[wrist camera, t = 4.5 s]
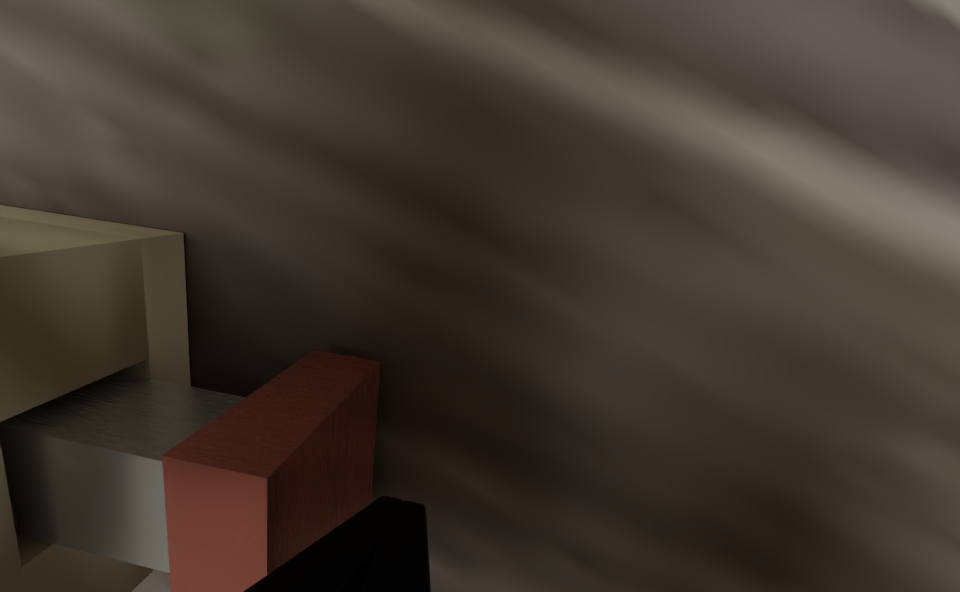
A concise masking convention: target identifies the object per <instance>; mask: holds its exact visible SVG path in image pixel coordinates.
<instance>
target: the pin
mask: <svg viewBox="0 0 960 592" xmlns="http://www.w3.org/2000/svg"><path fill="white" fill-rule="evenodd" d="M380 366H381V362H380V361H375V360H369V359H364V358H358V357H353V356H347V355H342V354H336V353H331V352H325V351H320V350H313V351H312V352H310V353H309V354H308V355H306V356H305V357H303V358H302V359H300V360H299V361H297V362H296V363H295V364H293V365H292V366H290V367H289V368H287V369H286V370H284V371H283V372H282V373H280V374H279V375H277V376H276V377H274V378H273V379H271V380H270V381H269V382H267V383H266V384H264V385H263V386H261V387H260V388H259V389H257V390H256V391H254V392H253V393H251V394H250V395H248V396H247V397H241V396H236V395H230V394H225V393H220V392H215V391H210V390H205V389H200V388H195V387H190V386H185V385H180V384H175V383H170V382H165V381H160V380H155V379H150V378H145V377H139V376H134V375H129V374H124V373H119V372H115V373H113V374H111V375H108V376H106V377H104V378H101V379H99V380H97V381H94V382H92V383H90V384H87V385H85V386H83V387H80V388H78V389H76V390H73V391H71V392H69V393H66V394H64V395H62V396H59V397H57V398H55V399H52V400H50V401H48V402H45V403H43V404H41V405H38V406H36V407H34V408H31V409H29V410H27V411H24V412H22V413H20V414H18V415H15V416H13V417H11V418H8V419H6V420H4V421H1V422H0V443H1V449H2V455H3V461H4V467H5V472H6V478H7V484H8V490H9V496H10V502H11V508H12V514H13V520H14V526H15V531H16V534H17V535H21V536H25V537H29V538H33V539H37V540H41V541H45V542H49V543H53V544H57V545H60V546H64V547H68V548H72V549H76V550H80V551H84V552H88V553H92V554H96V555H100V556H104V557H108V558H112V559H116V560H120V561H124V562H127V563H131V564H135V565H139V566H143V567H147V568H151V569H155V570H159V571H163V572H167V573H170V585H171V592H243V591H245V590H246V589H248V588H249V587H251V586H252V585H253V584H255V583H256V582H258V581H259V580H261V579H262V578H264V577H265V576H266V575H268V574H269V573H271V572H272V571H274V570H275V569H277V568H278V567H279V566H281V565H282V564H284V563H285V562H287V561H288V560H290V559H291V558H292V557H294V556H295V555H297V554H298V553H300V552H301V551H303V550H304V549H305V548H307V547H308V546H310V545H311V544H313V543H314V542H316V541H317V540H318V539H320V538H321V537H323V536H324V535H326V534H327V533H329V532H330V531H332V530H333V529H334V528H336V527H337V526H339V525H340V524H342V523H343V522H345V521H346V520H347V519H349V518H350V517H352V516H353V515H355V514H356V513H358V512H359V511H360V510H362V509H363V508H365V507H366V506H368V505H369V504H371V494H372V480H373V466H374V451H375V437H376V423H377V409H378V394H379V380H380Z"/></svg>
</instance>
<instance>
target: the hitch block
mask: <svg viewBox="0 0 960 592" xmlns="http://www.w3.org/2000/svg"><path fill="white" fill-rule="evenodd" d="M115 372H119V373H124V374H129V375H134V376H139V377H145V378H150V379H155V380H160V381H165V382H170V383H175V384H180V385H185V386H190V365H189V343H188V322H187V300H186V279H185V257H184V235H183V233H180V232H174V231H167V230H161V229H154V228H148V227H141V226H135V225H128V224H121V223H115V222H108V221H102V220H95V219H89V218H82V217H76V216H69V215H63V214H56V213H50V212H43V211H37V210H30V209H24V208H17V207H11V206H4V205H0V422H1V421H4V420H6V419H8V418H11V417H13V416H15V415H18V414H20V413H22V412H24V411H27V410H29V409H31V408H34V407H36V406H38V405H41V404H43V403H45V402H48V401H50V400H52V399H55V398H57V397H59V396H62V395H64V394H66V393H69V392H71V391H73V390H76V389H78V388H80V387H83V386H85V385H87V384H90V383H92V382H94V381H97V380H99V379H101V378H104V377H106V376H108V375H111V374H113V373H115ZM153 570H154V569H151V568H147V567H143V566H139V565H135V564H131V563H127V562H124V561H120V560H116V559H112V558H108V557H104V556H100V555H96V554H92V553H88V552H84V551H80V550H76V549H72V548H68V547H64V546H60V545H57V544H53V543H49V542H45V541H41V540H37V539H33V538H29V537H25V536H21V535H17V534H16V531H15V526H14V520H13V514H12V508H11V502H10V496H9V490H8V484H7V478H6V472H5V467H4V461H3V455H2V449H1V443H0V592H131V591H132V590H133V589H134V588H136V587H137V586H138V585H139V584H140V583H141V582H142V581H143V580H144V579H145V578H146V577H147V576H148V575H149V574H150V573H151V572H152V571H153Z"/></svg>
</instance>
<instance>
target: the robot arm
mask: <svg viewBox="0 0 960 592" xmlns="http://www.w3.org/2000/svg"><path fill="white" fill-rule="evenodd" d="M243 592H431V588H430V571H429V554H428V537H427V519H426V507H425V505H424V504H420V503H416V502H412V501H403V500H402V499H398V498H394V497H390V496H381V497H379V498H378V499H376V500H375V501H373V502H372V503H371V504H369V505H368V506H366V507H365V508H363V509H362V510H360V511H359V512H358V513H356V514H355V515H353V516H352V517H350V518H349V519H347V520H346V521H345V522H343V523H342V524H340V525H339V526H337V527H336V528H334V529H333V530H332V531H330V532H329V533H327V534H326V535H324V536H323V537H321V538H320V539H318V540H317V541H316V542H314V543H313V544H311V545H310V546H308V547H307V548H305V549H304V550H303V551H301V552H300V553H298V554H297V555H295V556H294V557H292V558H291V559H290V560H288V561H287V562H285V563H284V564H282V565H281V566H279V567H278V568H277V569H275V570H274V571H272V572H271V573H269V574H268V575H266V576H265V577H264V578H262V579H261V580H259V581H258V582H256V583H255V584H253V585H252V586H251V587H249V588H248V589H246V590H245V591H243Z"/></svg>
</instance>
